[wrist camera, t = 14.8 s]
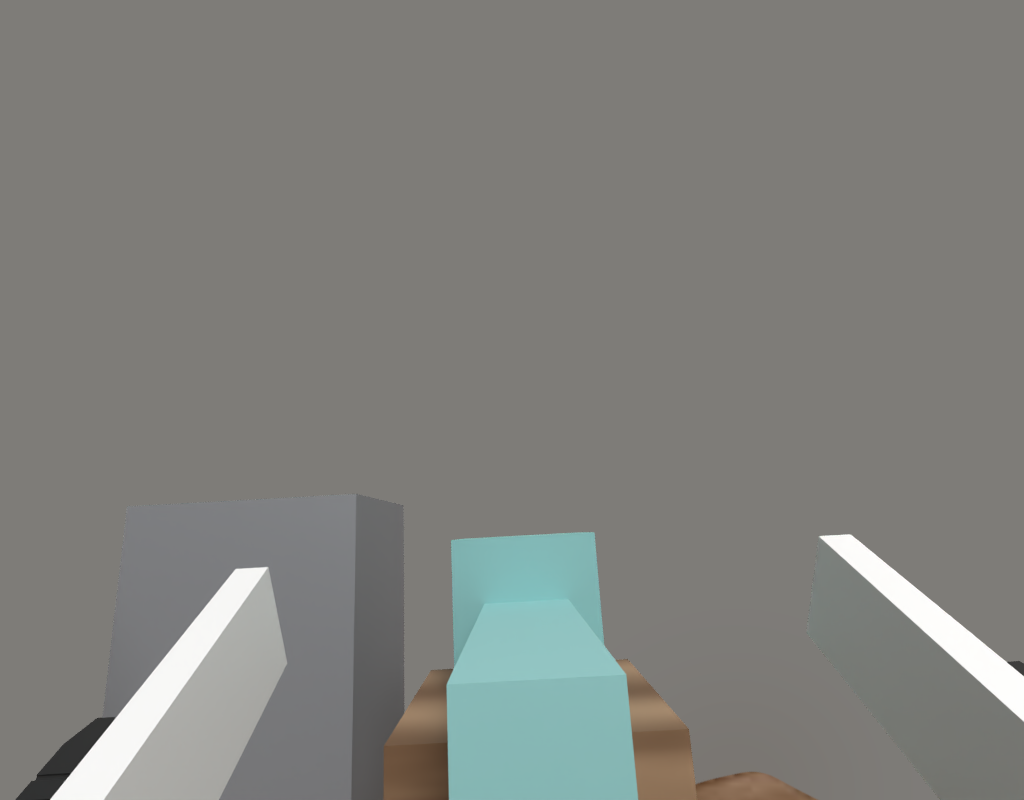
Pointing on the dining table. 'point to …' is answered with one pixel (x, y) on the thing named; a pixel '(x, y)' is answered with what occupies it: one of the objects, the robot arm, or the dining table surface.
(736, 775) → the dining table surface
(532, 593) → the teal bar
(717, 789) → the dining table surface
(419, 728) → the walnut block
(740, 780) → the dining table surface
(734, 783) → the dining table surface
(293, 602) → the stand
